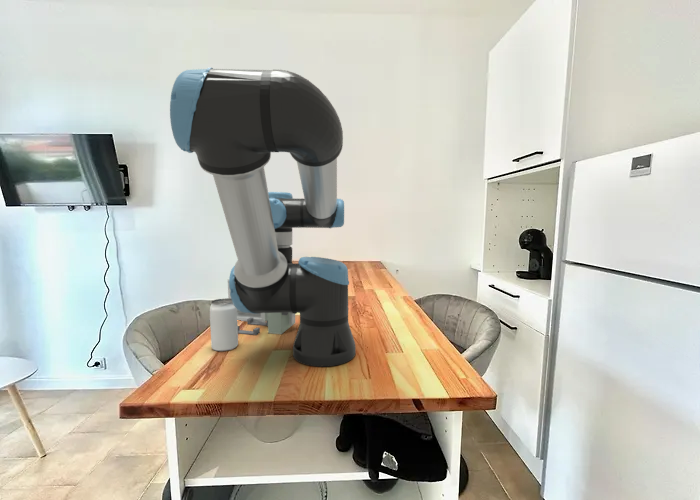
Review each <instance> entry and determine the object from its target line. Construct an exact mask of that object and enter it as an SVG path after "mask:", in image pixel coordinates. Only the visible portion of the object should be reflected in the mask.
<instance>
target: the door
mask: <svg viewBox="0 0 700 500" xmlns="http://www.w3.org/2000/svg"><path fill="white" fill-rule="evenodd" d="M295 324H296V322H295V323H294V324H293V325H295ZM293 325H289V313H268V326H267V333H268V334H274V335H282V334H284V332H286V331H287V330H288V329H290V328H291V327H292V326H293Z"/></svg>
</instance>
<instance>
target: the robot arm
mask: <svg viewBox="0 0 700 500" xmlns="http://www.w3.org/2000/svg"><path fill="white" fill-rule="evenodd" d="M169 117H170V118H169V119H170V127H171V130H172V131H171V132H172V136H173V139H174V141H175V144H176V145H177V147H179V149H180V150H182V151H183V152H186V153H188V154H193V153H195V154H196V157H197V160H198V163H199V166H200V168H201V169H202V170H203V171H204V172H206V173H208V174H210V175H212V177H213V181H214V184H215V186H216V190H217V194H218V198H219V199H220V200H219V201H220V203H221V207H222V210H223V214H224V217H225V220H226V224H227V228H228V230H229V234H230V237H231V240H232V244H233V247H234V251H235V254H236V258H237V260H236V262H235V264H234V265H233V267H232V268H231V270H230V273H229V277H228V278H229V289H230V290H231V292H230V296H231V299H232V302H233V304H234V306H235V307H236V308H237V309H238V310H239V311H241V312H245V313H254V314H258V313H262V322H266V321H267V320H268V313H289V325H292V326H294V325H295V324H296V314H297V313H299V326H298V330H297V332H296V335H295V339H294V341H293V345H292V346H293V347H292V356H293V358H294V359H295V361H297V362H298V363H300V364H304V365H306V366H311V367H319V368H320V367H333V366H339V365H342V364H346V363H348V362H349V361H351V360H353V359H354V357H355V356H356V342H355V339H354V338H355V337H354V336H353V333H352V329H351V326H350V324H349V323H350V322H349V285H350V281H349V270H348V269H349V268H348V267H347V265H346V264H345V263H344V262H342V261H339V260H337V259H332V258H326V257H319V256H303V257H300V258H299V259H298V263H293V247H292V245H293V228H294V229H297V228H298V229H302V228H303V229H305V228H306V229H308V228H310V229H311V228H312V229H317V228H318V229H333V228H334V229H335V228H342V227H344V225H345V202H344V200H343V199H341V198H338V189H337V188H338V158H339V157H340V154H341V152H342V150H343V145H344V135H343V133H344V131H343V127H342V123H341V120H340V117H339V115H338V113H337V111H336V108H335V107H334V106H333V104H332V103H331V101H330V100H329V98H328V97H327V95H325V94H324V93H323V92H322V90H321V89H320V88H319V87H317V86H316V85H315V84H314V83H313V82H311V81H310V80H309V79H307V78H305V77H304V76H302V75H300V74H297V73H296V72H292V71H289V70H283V69H271V70H269V69H236V68H235V69H234V68H231V69H229V68H228V69H227V68H213V67H207V68H201V69H200V68H198V69H194V68H193V69H186V70H183V71H182V72H180V74H179V75H177V77H176V78H175V80H174V82H173V85H172V88H171V94H170V103H169ZM272 153H289V154H290V157H291V158H292V159H293V160H294V161H296V164H297V168H298V174H299V178H300V183H301V188H302V193H303V198H294V197H293V194H292V193H291V192H284V191H269V190H268V182H267V178H266V172H265V167H266V165H268V163H269V162H270V160H271V156H272ZM294 323H295V324H294Z"/></svg>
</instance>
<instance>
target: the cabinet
mask: <svg viewBox="0 0 700 500" xmlns="http://www.w3.org/2000/svg"><path fill="white" fill-rule="evenodd" d="M230 292H231V290H230V289H229V279H227V294H228V297H227V298H230V299H231V296H230ZM237 320H241V321H242V322H246V323H247V325H250V326H251V325H253V326H254V325H255V326H263V327H264V326H265V327H268V320H267V321H266V322H262V313H258V314H254V313H245V312H241V311H239V310H238V309H237ZM241 321H240V322H241ZM259 334H261V327H255V328H253V330H246V329H244V330H243V329H241V328H240V325H238V335H250V336H251V335H252V336H257V335H259Z"/></svg>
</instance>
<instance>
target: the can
mask: <svg viewBox="0 0 700 500" xmlns="http://www.w3.org/2000/svg"><path fill="white" fill-rule="evenodd" d="M210 303H211V305H210V307H209V320H210V321H209V323H210V324H209V325H210V341H211V343H210V346H211V349H212V350H213V351H216V352H229V351H231V350H234V349H236V347H237V346H239V334H238V326H239V324H238V321H237V308H236V307H235V306H234V304H233V302H232V299H230V298H228V297H226V298H225V297H223V298H217V299H213V300H212V301H211V302H210Z"/></svg>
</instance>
